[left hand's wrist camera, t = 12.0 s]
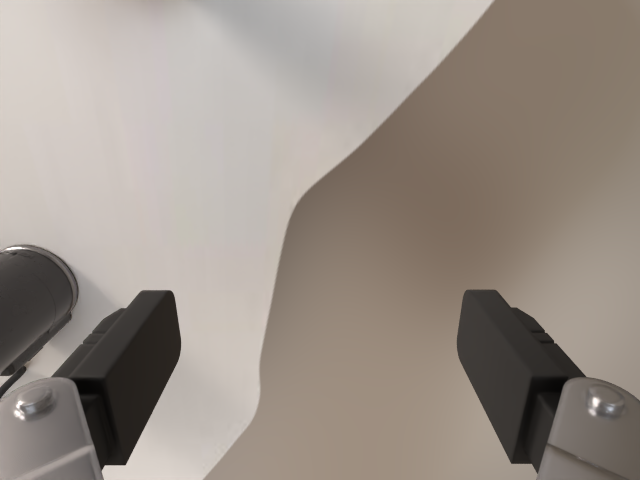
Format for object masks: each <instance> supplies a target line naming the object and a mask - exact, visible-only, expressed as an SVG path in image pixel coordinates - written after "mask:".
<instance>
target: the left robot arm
mask: <svg viewBox="0 0 640 480" xmlns="http://www.w3.org/2000/svg"><path fill="white" fill-rule="evenodd" d="M77 296H78V290H77V284H76V281H75V278H74V276H73V274H72V273H71V271H70V270H69V268H68V267H67V266H66V265H65V264H64V263H63V262H62V261H61V260H60V259H59V258H58V257H56V256H55V255H53V254H52V253H50V252H48V251H46V250H44V249H41V248H38V247H34V246H29V245H16V246H11V247H8V248H6V249H4V250H2V251H0V376H10V375H13V374H14V375H13V376H12V377H10V378H9V379H8V380H7V381H6V382H5V383H4V384H3V385H2V386H1V387H0V398H1V397H2V395H3V394H4V393H5V392H6V391H7V390H8V389H9V388H10V387H11V386H12V385H13V384H14V383H15V382H16V381H17V380H18V379H19V378H20V377H21V376H22V375H23V374H24V373H25V371H26V367H25V366H23V365H24V364H25V363H26V362H27V361H30V360H31V359H32V358H33V357H34V356H35V355H36V354H37V353H38V352H39V351H40V350H41V349H42V348H43V346H44V345H45V344H46V343H47V342H48V341H49V340H50V339H51V338H52V337H53V336H54V335H55V334H56V333H57V332H59V331H60V330H61V329H62V328H63V327H64V326H65V325H66V324H67V323H68V322H69V321H70V320H71V316H70V311H71V310H72V309H73V307H74V306H75V304H76V301H77ZM92 332H93V333H92V334H90V335H89V336H88V337H87V338H86V339H85V340H84V341H83V344H81V345H80V346H79V347H78V348H77V349H76V350H75V351H74V352H73V353H72V354H71V356H70V357H69V358H68V359H67V360H66V361H65V362H64V363H63V364H62V366H61V367H60V368H59V369H58V370H57V371H56V372H55V373H54V374H53V375H52V377H51V378H45V379H40V380H37V381H34V382H31V383H28V384H26V385H24V386H22V387H19V388H18V389H16V390H14V391H12V392H11V393H9V394H8V395H7V396H5V397H4V398H3V399H2V400H1V401H0V480H104V479H103V475H102V472H101V471H102V469H103V467H104V466H105V465H126V463H127V461H128V459H129V457H130V455H131V453H132V451H133V449H134V447H135V445H136V443H137V441H138V439H139V437H140V435H141V434H142V432H143V430H144V428H145V426H146V424H147V422H148V420H149V418H150V416H151V414H152V412H153V410H154V408H155V406H156V404H157V402H158V400H159V398H160V396H161V394H162V392H163V390H164V388H165V386H166V384H167V382H168V380H169V378H170V376H171V374H172V372H173V370H174V368H175V366H176V364H177V362H178V360H179V356H180V351H181V336H180V330H179V323H178V316H177V310H176V303H175V297H174V294H173V292H172V291H170V290H143V291H141V292H140V293H139V294H138V295H137V296H136V298H135V299H134V300H133V301H132V302H131V303H130V305H129V306H128V307H127V308H121V309H119V310H118V311H116V312H114V313H113V314H111V315H109V316H108V317H106V318H104V319H103V320H102V321H101V322H100V324H99V325H98V326H97V327H96V328H95V329H94V330H93V331H92ZM457 351H458V356H459V359H460V362H461V364H462V366H463V368H464V370H465V372H466V374H467V376H468V378H469V380H470V382H471V384H472V386H473V388H474V390H475V392H476V394H477V396H478V398H479V400H480V402H481V404H482V406H483V408H484V410H485V412H486V414H487V416H488V418H489V420H490V422H491V424H492V426H493V428H494V430H495V432H496V434H497V436H498V438H499V440H500V442H501V444H502V446H503V448H504V450H505V452H506V454H507V456H508V458H509V460H510V462H511V463H512V464H532V465H533V467H534V468H535V470H536V472H537V474H538V475H537V479H536V480H640V401H639V400H638V399H637V398H636V397H635V396H633V395H632V394H630V393H629V392H628V391H626V390H624V389H622V388H620V387H618V386H616V385H614V384H612V383H609V382H606V381H603V380H600V379H595V378H588V377H586V376H585V375H584V374H583V373H582V371H581V370H580V369H579V368H578V367H577V366H576V365H575V364H574V363H573V361H572V360H571V359H570V358H569V357H568V356H567V355H566V354H565V353H564V351H563V350H562V349H561V348H560V347H559V346H558V345H557V344H554V340H553V339H552V338H551V337H550V336H549V335H548V334H547V333H545V330H544V329H543V328H542V327H541V326H540V325H539V324H538V323H537V321H536V320H535V319H534V318H533V317H531V316H529V315H528V314H526V313H524V312H523V311H521V310H519V309H518V308H511V307H510V306H509V305H508V303H507V302H506V301H505V300H504V299H503V298H502V296H501V295H500V294H499V293H498V292H497V291H496V290H466V291H465V293H464V296H463V301H462V308H461V315H460V321H459V328H458V335H457Z"/></svg>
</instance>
